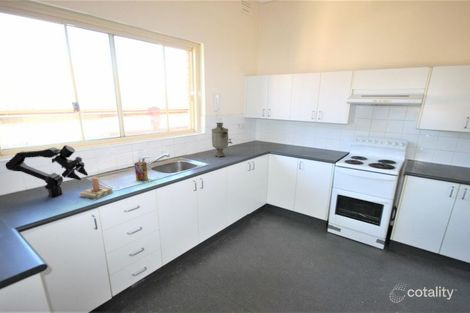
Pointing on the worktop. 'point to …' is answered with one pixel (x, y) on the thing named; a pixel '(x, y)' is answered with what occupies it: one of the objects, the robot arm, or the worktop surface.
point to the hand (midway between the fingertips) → (84, 177)
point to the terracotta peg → (95, 184)
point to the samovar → (220, 139)
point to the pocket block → (95, 195)
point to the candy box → (141, 170)
